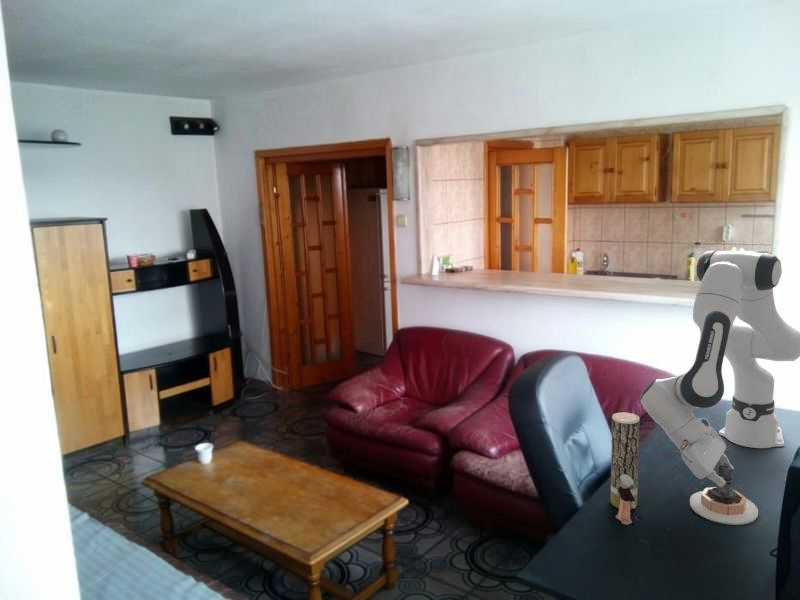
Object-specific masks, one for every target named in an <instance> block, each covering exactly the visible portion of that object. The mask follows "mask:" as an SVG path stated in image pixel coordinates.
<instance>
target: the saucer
mask: <svg viewBox="0 0 800 600" xmlns="http://www.w3.org/2000/svg"><path fill="white" fill-rule="evenodd" d="M714 487H715V486H712V487H710V486H709V487H705V488H704V489H703V490H701V491H700V490H699V491H697V492H695V493H693V494H691V496H690V499H689V506H690V508H691V509H692V511H693V512H695V514H697V516H698V515H699V516H700V517H702V518H705V519H707V520H709V521H711V522H715V523H719V524H722V525H723V524H724V525H732V526H742V525H748V524H752V523H754V522H755V521H756V520H757V519H758V517H759V509H758V507H757V505H755V503H754V502H752V500H750V499H748V498H747V497H746V496H744V495H743V494H742V493H740V492H739V491H738V490H736V489H732V490H733V491H735V492H736V497H735V499H734V500H733V502H731V503H733V504H724V503H720V502H716V501H713V500H716V499H715V498H714V497H713V493H712V491H711V490H712V489H713V488H714ZM756 518H757V519H756ZM754 520H755V521H754Z"/></svg>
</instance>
